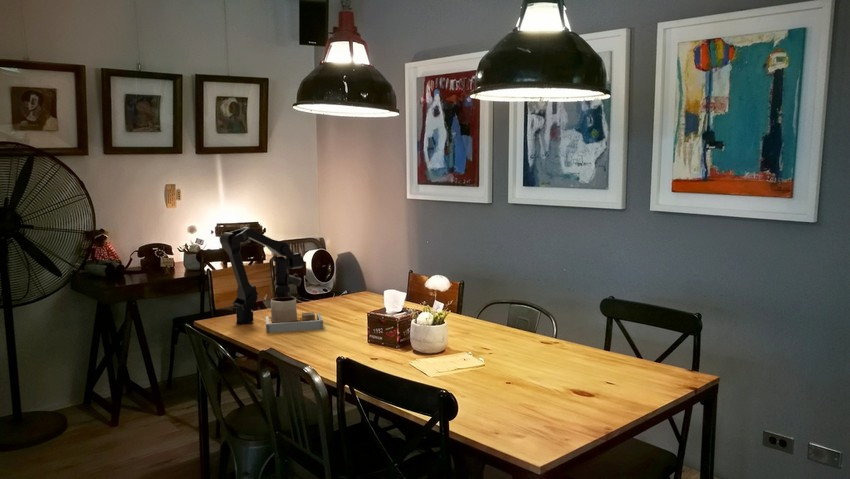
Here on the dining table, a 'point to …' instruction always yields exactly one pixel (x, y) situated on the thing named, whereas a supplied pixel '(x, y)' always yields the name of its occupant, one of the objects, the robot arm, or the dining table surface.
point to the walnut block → (308, 316)
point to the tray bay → (294, 325)
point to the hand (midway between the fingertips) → (282, 304)
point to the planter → (283, 309)
